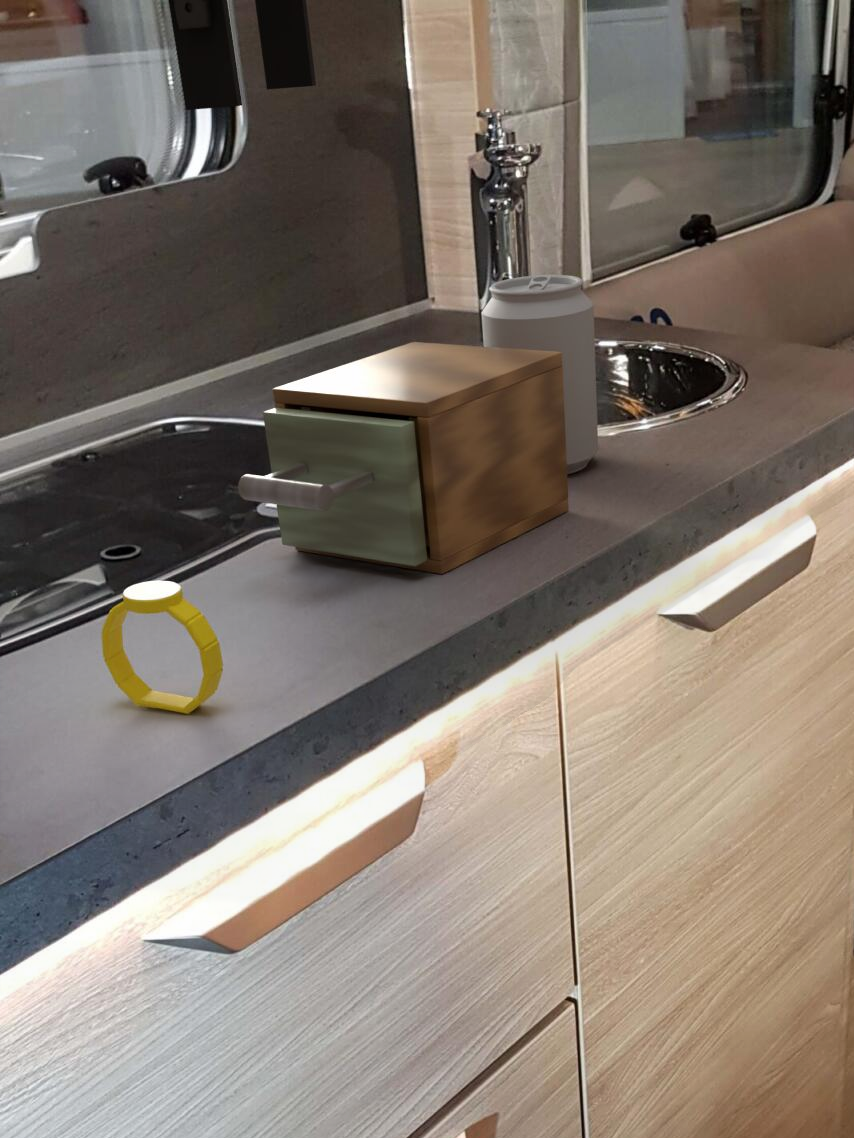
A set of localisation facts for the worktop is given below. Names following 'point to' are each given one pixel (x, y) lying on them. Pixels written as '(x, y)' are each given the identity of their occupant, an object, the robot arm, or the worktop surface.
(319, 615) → the worktop surface
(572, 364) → the can
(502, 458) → the cabinet
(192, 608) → the watch
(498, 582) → the worktop surface
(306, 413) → the drawer
